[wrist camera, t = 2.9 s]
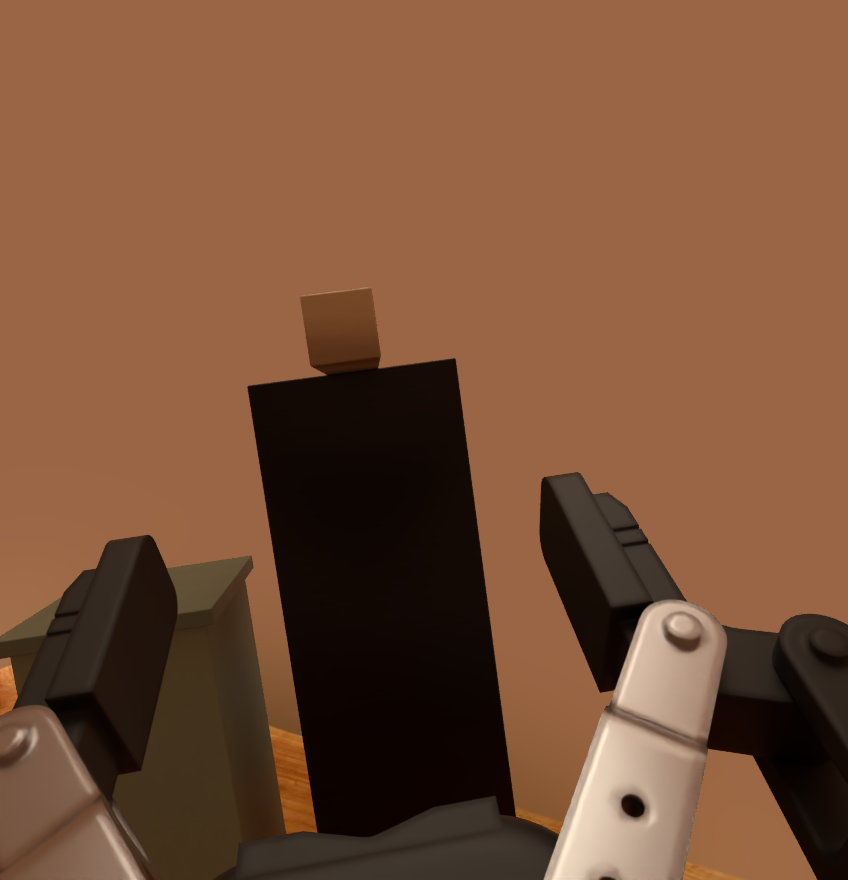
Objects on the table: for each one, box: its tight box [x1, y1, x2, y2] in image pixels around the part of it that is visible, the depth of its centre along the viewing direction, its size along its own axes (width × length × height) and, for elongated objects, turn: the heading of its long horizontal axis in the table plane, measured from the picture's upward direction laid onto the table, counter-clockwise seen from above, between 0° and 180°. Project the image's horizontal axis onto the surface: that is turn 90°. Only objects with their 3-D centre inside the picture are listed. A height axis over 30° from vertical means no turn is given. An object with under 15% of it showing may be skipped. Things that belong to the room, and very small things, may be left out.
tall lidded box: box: [0, 556, 286, 880], centre depth 35 cm, size 10×10×22 cm
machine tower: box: [248, 358, 516, 837], centre depth 35 cm, size 8×10×32 cm
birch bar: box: [300, 287, 381, 375], centre depth 32 cm, size 20×2×2 cm, turn 5°
